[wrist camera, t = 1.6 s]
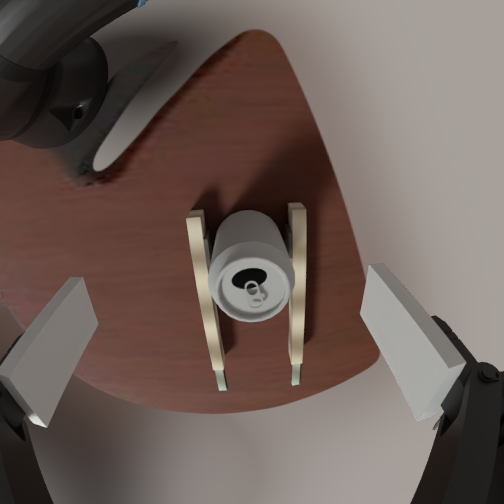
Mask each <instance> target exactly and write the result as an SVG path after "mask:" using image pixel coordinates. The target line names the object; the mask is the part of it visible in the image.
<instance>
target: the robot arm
mask: <svg viewBox="0 0 504 504" xmlns="http://www.w3.org/2000/svg"><path fill="white" fill-rule="evenodd" d="M146 1H148V0H0V141H4V140H10V139H11V140H13V141H16V142H19V143H21V144H24V145H27V146H30V147H32V148H39V149H44V148H51V147H56V146H60V145H63V144H66V143H68V142H70V141H71V140H73V139H74V138H76V137H77V136H78V135H79V134H81V133H82V132H83V131H84V130H85V129H86V128H87V126H88V125H89V124H90V123H91V121H92V120H93V118H94V117H95V115H96V113H97V112H98V110H99V108H100V106H101V103H102V101H103V98H104V95H105V91H106V87H107V81H108V65H107V60H106V56H105V53H104V51H103V49H102V47H101V46H100V45H99V43H98V42H97V41H95V40H94V39H93V38H91V37H89V36H91V35H92V34H93V33H95V32H96V31H98V30H99V29H101V28H102V27H104V26H105V25H107V24H109V23H110V22H112V21H113V20H115V19H116V18H118V17H120V16H121V15H123V14H125V13H127V12H128V11H130V10H132V9H134V8H136V7H138V8H139V7H141V6H143V5H144V4H145V3H146ZM360 315H361V317H362V319H363V320H364V322H365V324H366V326H367V327H368V329H369V331H370V333H371V335H372V336H373V338H374V340H375V342H376V344H377V345H378V347H379V349H380V351H381V353H382V354H383V356H384V358H385V360H386V362H387V364H388V366H389V367H390V369H391V371H392V373H393V375H394V377H395V379H396V381H397V383H398V385H399V387H400V388H401V390H402V392H403V394H404V396H405V398H406V400H407V402H408V404H409V406H410V408H411V410H412V412H413V414H414V417H415V419H416V421H420V420H423V419H426V418H429V417H431V416H434V414H435V413H436V412H437V410H438V409H439V407H440V406H441V407H442V409H443V410H444V413H443V415H442V416H441V417H440V419H439V420H438V421H437V423H436V424H435V426H434V427H433V430H435V429H436V428H437V426H438V425H439V427H438V431H437V434H436V437H435V440H434V444H433V447H432V450H431V453H430V456H429V459H428V462H427V464H426V467H425V470H424V472H423V475H422V478H421V480H420V483H419V485H418V488H417V490H416V492H415V494H414V497H413V499H412V501H411V503H410V504H504V371H503V372H499V371H498V369H497V368H496V367H494V366H493V365H491V364H489V363H486V362H480V363H478V362H477V361H476V359H475V358H474V357H473V356H472V354H471V353H470V352H469V351H468V349H467V348H466V347H465V345H464V344H463V343H462V342H461V340H460V339H458V337H457V336H456V334H455V333H454V332H452V329H451V328H450V327H449V326H448V325H447V323H446V322H445V321H443V320H441V319H440V318H438V317H437V316H430V315H429V314H428V313H427V312H426V311H425V309H424V308H423V307H422V306H421V305H420V303H419V302H418V301H417V300H416V299H415V298H414V296H413V295H412V294H411V293H410V292H409V291H408V290H407V288H405V286H404V285H403V284H402V283H401V282H400V281H399V280H398V278H397V277H396V276H395V275H394V274H393V273H392V272H391V271H390V270H389V269H388V267H387V266H385V264H384V263H382V264H369V269H368V275H367V280H366V286H365V291H364V297H363V302H362V307H361V312H360ZM98 325H99V324H98V321H97V318H96V316H95V313H94V310H93V307H92V304H91V301H90V298H89V295H88V292H87V289H86V286H85V283H84V279H83V277H70V278H69V279H68V280H67V282H66V283H65V284H64V285H63V286H62V287H61V288H60V289H59V291H58V292H57V293H56V294H55V295H54V296H53V298H52V299H51V300H50V301H49V302H48V304H47V305H46V306H45V307H44V308H43V310H42V311H41V312H40V313H39V315H38V316H37V317H36V318H35V320H34V321H33V322H32V323H31V325H30V326H29V327H28V329H27V330H26V331H25V332H24V333H23V334H21V335H20V336H19V337H18V338H17V339H16V340H15V341H14V343H13V344H12V347H10V348H9V350H8V351H7V354H5V355H4V357H3V358H2V360H1V361H0V504H53V501H52V499H51V497H50V494H49V492H48V489H47V487H46V484H45V482H44V479H43V476H42V474H41V471H40V468H39V465H38V462H37V459H36V456H35V453H34V449H33V446H32V442H31V439H30V435H29V431H28V428H27V425H26V422H25V421H24V420H23V418H24V416H25V414H26V415H27V416H28V417H29V418H30V420H31V421H32V422H33V423H34V424H38V425H40V426H43V427H48V424H49V422H50V420H51V418H52V415H53V413H54V411H55V409H56V406H57V404H58V402H59V400H60V398H61V395H62V393H63V391H64V389H65V387H66V385H67V383H68V381H69V379H70V377H71V375H72V373H73V371H74V369H75V367H76V365H77V363H78V361H79V359H80V357H81V356H82V354H83V352H84V350H85V348H86V346H87V344H88V342H89V341H90V339H91V337H92V335H93V333H94V332H95V330H96V328H97V326H98Z"/></svg>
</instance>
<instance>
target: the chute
mask: <svg viewBox="0 0 504 504" xmlns="http://www.w3.org/2000/svg"><path fill="white" fill-rule="evenodd" d="M186 221H187V228H188V235H189V242H190V248H191V255H192V261H193V267H194V273H195V279H196V285H197V290H198V296H199V301H200V307H201V312H202V317H203V323H204V328H205V333H206V338H207V342H208V347H209V352H210V357H211V361H212V366H213V370H215V373H216V378H217V382H218V386H219V391H223V390H227V388H226V383H225V378H224V373H223V370H224V358H225V355H224V349H223V343H222V337H221V331H220V325H219V319H218V312H217V306H216V302H215V301H214V299H213V297H212V296H211V294H210V292H209V286H208V275H209V269H210V264H211V259H212V254H213V251H212V243H211V235H210V230H206V226H205V217H204V209H202V210H191V211H190V212H189V214H188V216H187V218H186ZM284 228H285V247H286V250H287V253H288V255H289V258H290V260H291V263H292V266H293V268H294V271H295V286H294V289H293V292H292V295H291V296H290V298H289V355H290V360H291V364H292V385H298V384H299V379H300V364H301V363H302V356H303V339H304V318H305V291H306V208H305V207H304V206H303V205H302V203H301V202H298V203H288V224H284Z"/></svg>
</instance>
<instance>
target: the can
mask: <svg viewBox="0 0 504 504" xmlns="http://www.w3.org/2000/svg"><path fill="white" fill-rule="evenodd" d="M208 286H209V292H210V294H211V296H212V297H213V299H214V301H215V302H216V304H218V305H219V307H220V309H221V310H223V311H224V312H225V313H226V314H227V315H228V316H230V317H232V318H235V319H237V320H239V321H246V322H257V321H263V320H266V319H268V318H271V317H273V316H274V315H276V314H277V313H278V312H280V311H281V310H282V309H283V307H284V306H285V305H286V303H287V302H288V299H289V298H290V296H291V295H292V292H293V289H294V286H295V271H294V268H293V266H292V263H291V260H290V258H289V255H288V253H287V250H286V247H285V245H284V242H283V239H282V237H281V234H280V232H279V229H278V227H277V225H276V224H275V223H274V221H273V220H272V219H271V218H270V217H268V216H267V215H265V214H263V213H261V212H258V211H253V210H245V211H239V212H236V213H234V214H232V215H230V216H229V217H227V218H226V219H225V220H224V221H223V222H222V223H221V225H220V227H219V228H218V230H217V234H216V239H215V244H214V249H213V254H212V259H211V264H210V269H209V275H208Z"/></svg>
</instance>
